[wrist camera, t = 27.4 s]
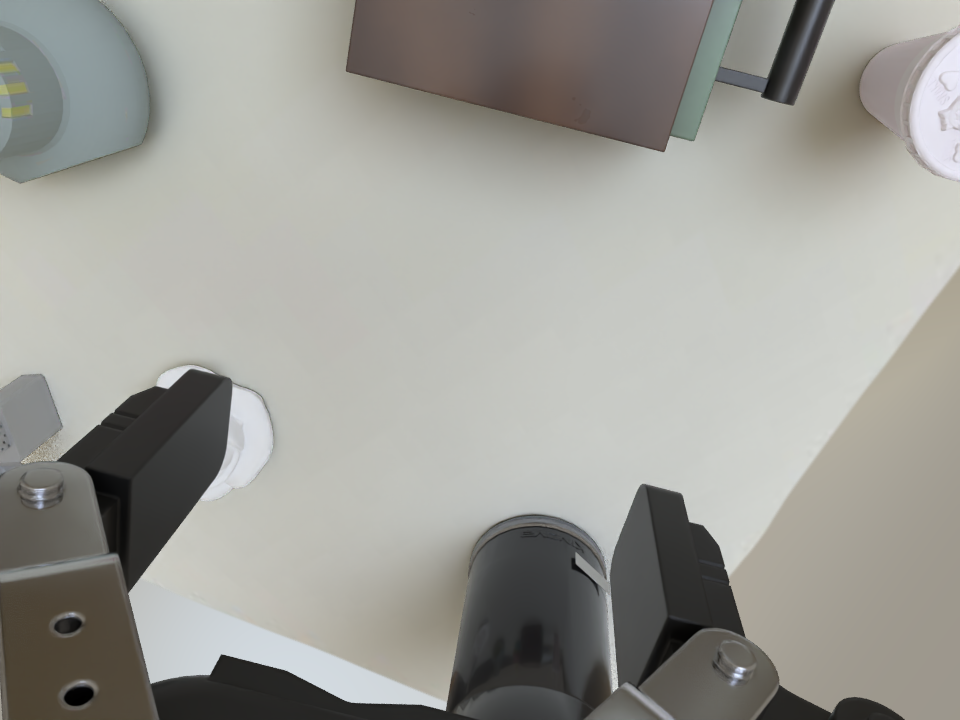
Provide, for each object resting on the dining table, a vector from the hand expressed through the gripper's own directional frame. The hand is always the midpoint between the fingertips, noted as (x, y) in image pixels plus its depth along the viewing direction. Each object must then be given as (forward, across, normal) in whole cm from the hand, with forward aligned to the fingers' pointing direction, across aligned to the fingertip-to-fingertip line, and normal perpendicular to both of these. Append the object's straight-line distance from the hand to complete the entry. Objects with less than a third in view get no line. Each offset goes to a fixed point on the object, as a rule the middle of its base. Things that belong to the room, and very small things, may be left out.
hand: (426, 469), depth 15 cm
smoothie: (+30, -17, -9) cm, 36 cm away
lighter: (+30, +27, +24) cm, 47 cm away
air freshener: (+30, +25, +1) cm, 39 cm away
